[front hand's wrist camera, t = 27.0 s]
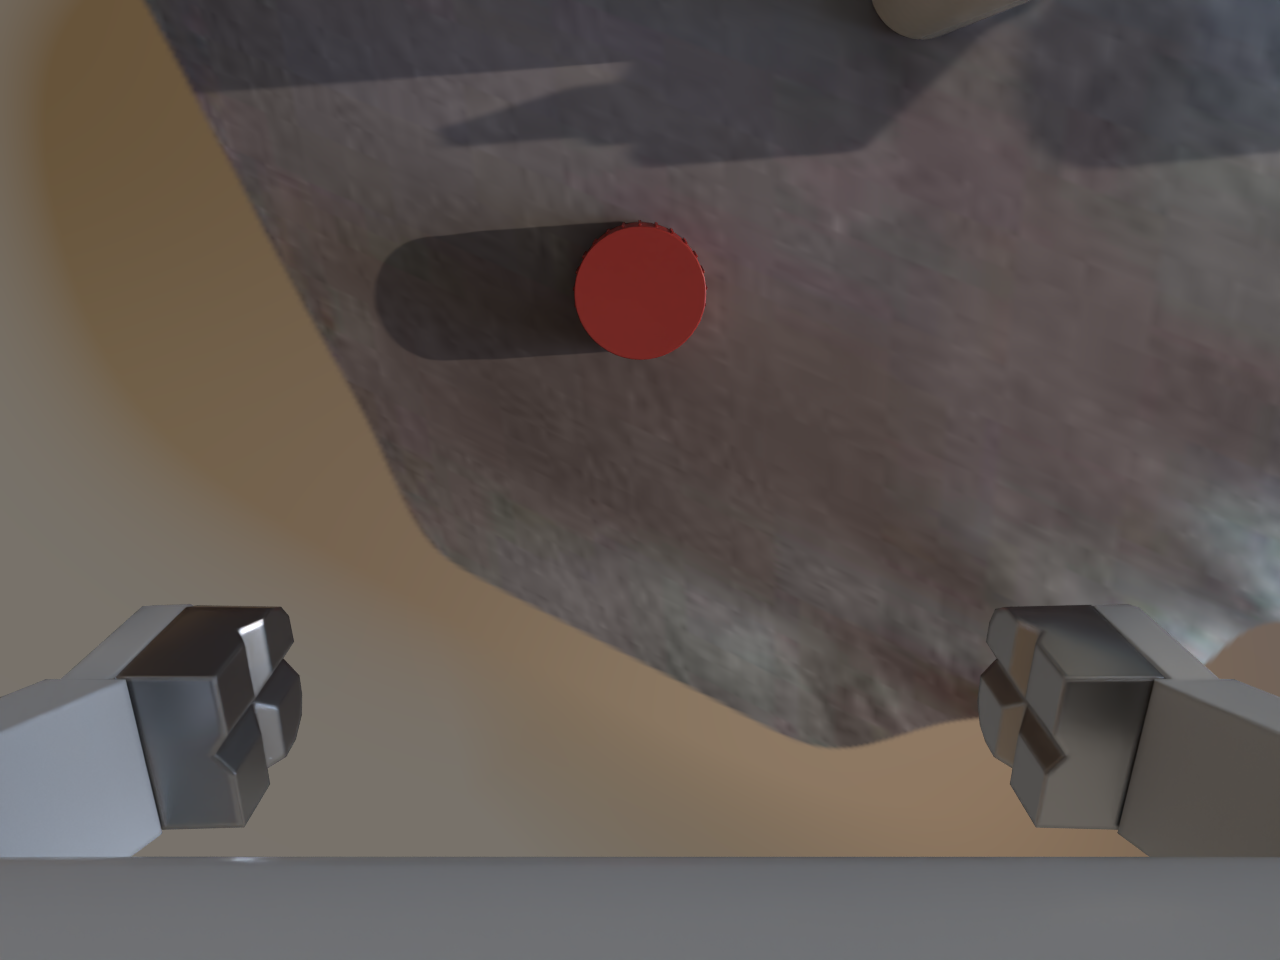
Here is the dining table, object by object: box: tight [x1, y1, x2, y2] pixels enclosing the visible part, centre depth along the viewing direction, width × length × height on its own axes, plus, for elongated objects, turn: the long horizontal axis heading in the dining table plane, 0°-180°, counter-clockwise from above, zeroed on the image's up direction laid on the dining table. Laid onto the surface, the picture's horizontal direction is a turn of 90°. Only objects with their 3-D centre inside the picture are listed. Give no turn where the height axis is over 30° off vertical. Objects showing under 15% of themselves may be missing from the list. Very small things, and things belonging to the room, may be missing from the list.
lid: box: [573, 220, 707, 360], centre depth 38 cm, size 6×6×2 cm
